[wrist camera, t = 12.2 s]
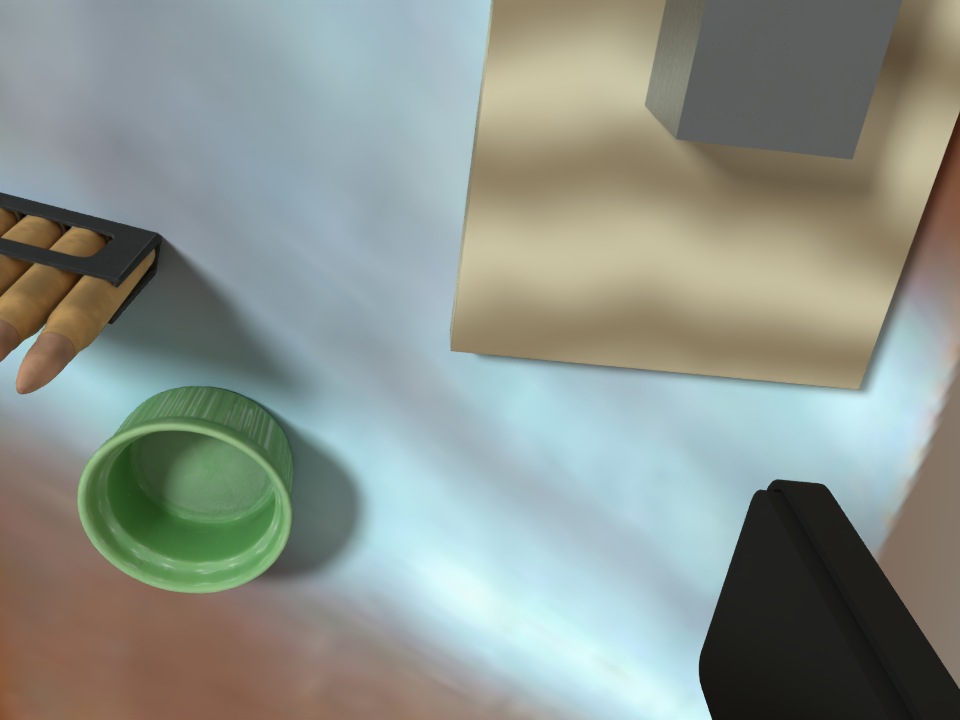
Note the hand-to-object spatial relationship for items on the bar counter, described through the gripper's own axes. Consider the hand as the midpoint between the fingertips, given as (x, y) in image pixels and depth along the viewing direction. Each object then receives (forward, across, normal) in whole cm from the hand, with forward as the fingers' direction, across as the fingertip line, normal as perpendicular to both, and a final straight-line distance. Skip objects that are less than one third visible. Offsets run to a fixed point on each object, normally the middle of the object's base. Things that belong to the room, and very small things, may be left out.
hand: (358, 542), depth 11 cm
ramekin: (+28, +8, +18) cm, 34 cm away
